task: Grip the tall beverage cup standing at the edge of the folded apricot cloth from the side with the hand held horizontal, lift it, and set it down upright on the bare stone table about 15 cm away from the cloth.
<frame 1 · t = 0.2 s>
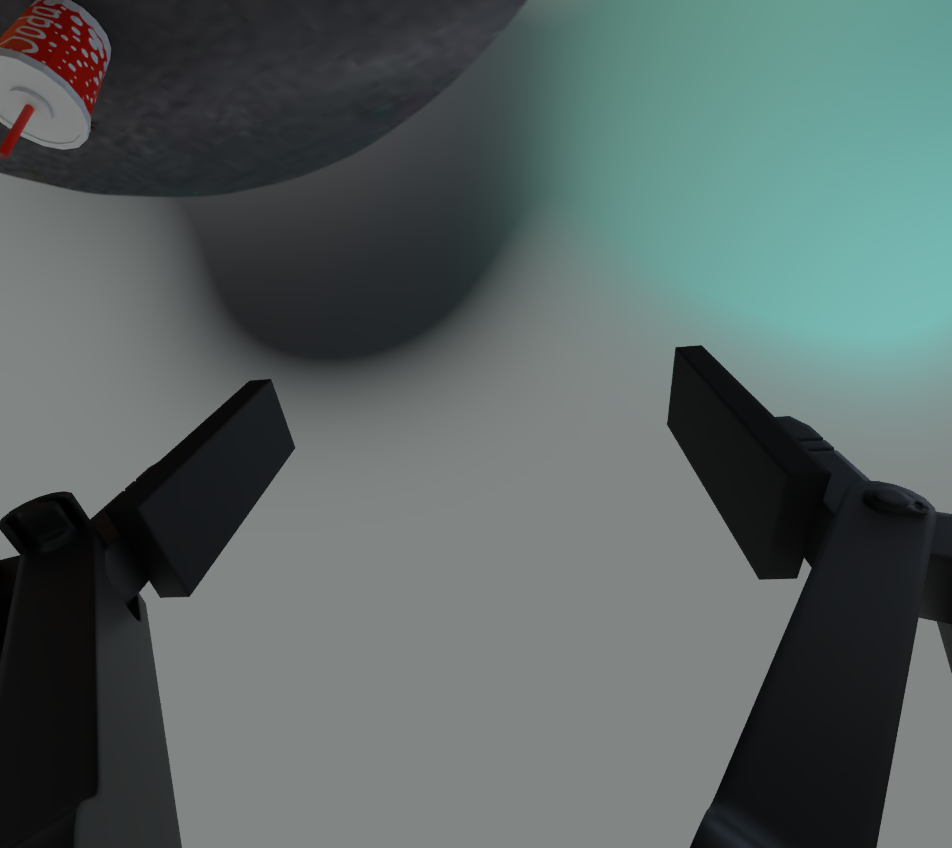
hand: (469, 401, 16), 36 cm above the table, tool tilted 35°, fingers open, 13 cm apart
beverage cup: (74, 31, 35), on the table
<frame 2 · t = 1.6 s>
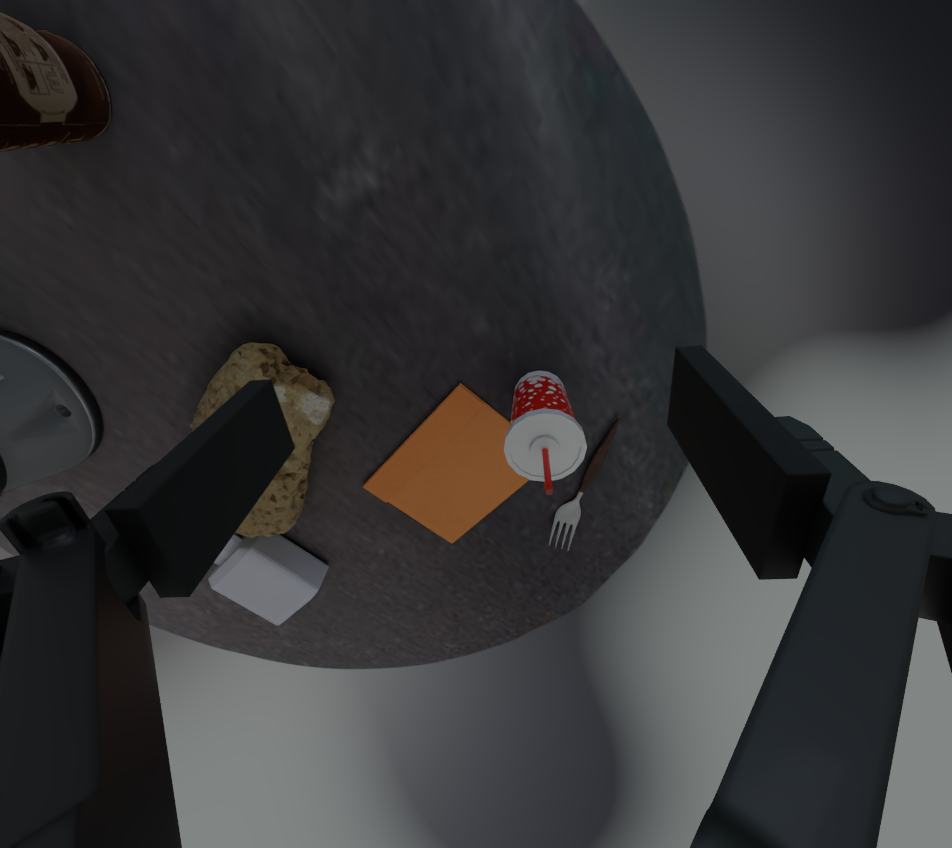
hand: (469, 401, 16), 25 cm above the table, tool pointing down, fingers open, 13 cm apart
sponge: (276, 433, 47), on the table
charger: (258, 546, 56), on the table
cloth: (455, 470, 48), on the table
coffee cup: (69, 87, 33), on the table
beverage cup: (539, 392, 43), on the table
fork: (584, 479, 47), on the table
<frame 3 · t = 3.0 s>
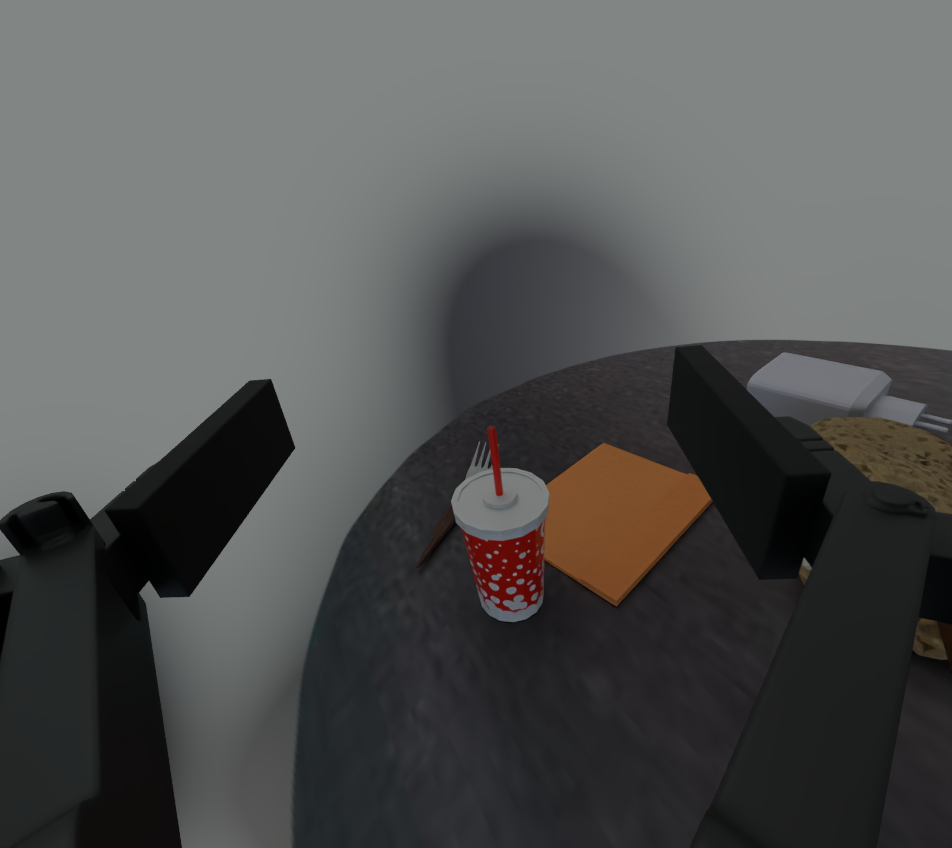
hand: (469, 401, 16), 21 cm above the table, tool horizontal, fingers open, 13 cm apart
sponge: (869, 540, 34), on the table
charger: (839, 425, 47), on the table
cloth: (608, 509, 40), on the table
beverage cup: (511, 596, 34), on the table
fork: (460, 508, 43), on the table
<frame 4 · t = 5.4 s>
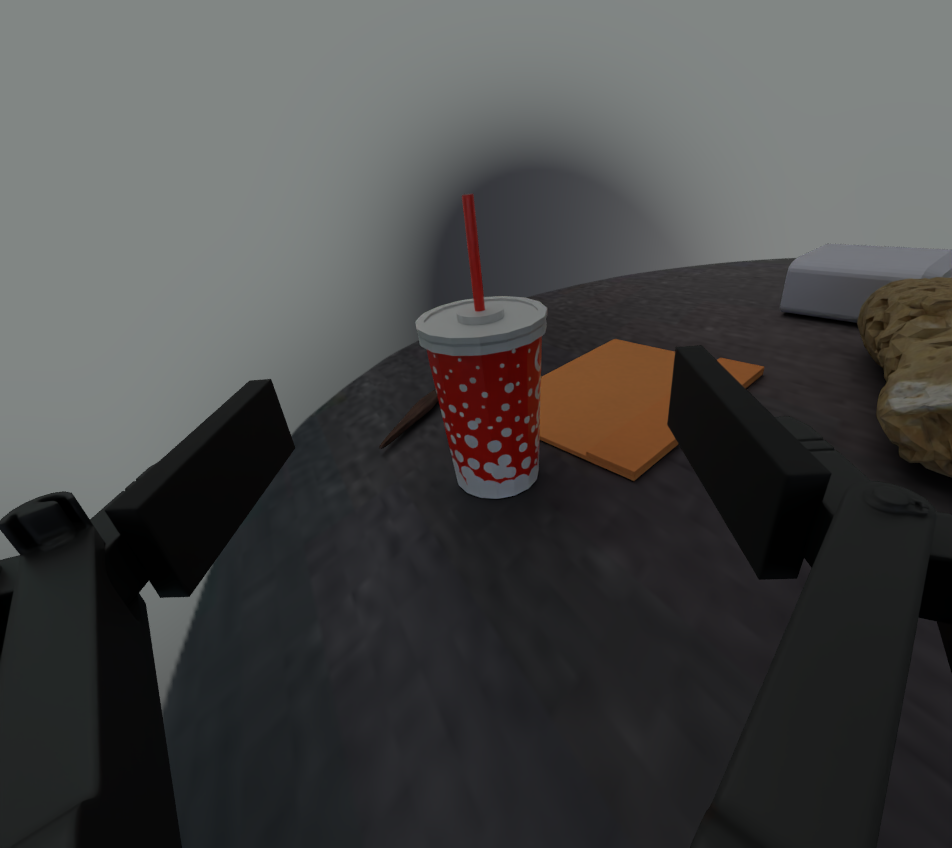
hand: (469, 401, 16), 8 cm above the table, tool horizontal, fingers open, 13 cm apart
charger: (898, 318, 39), on the table
cloth: (621, 393, 33), on the table
beverage cup: (497, 475, 26), on the table
fork: (440, 399, 35), on the table
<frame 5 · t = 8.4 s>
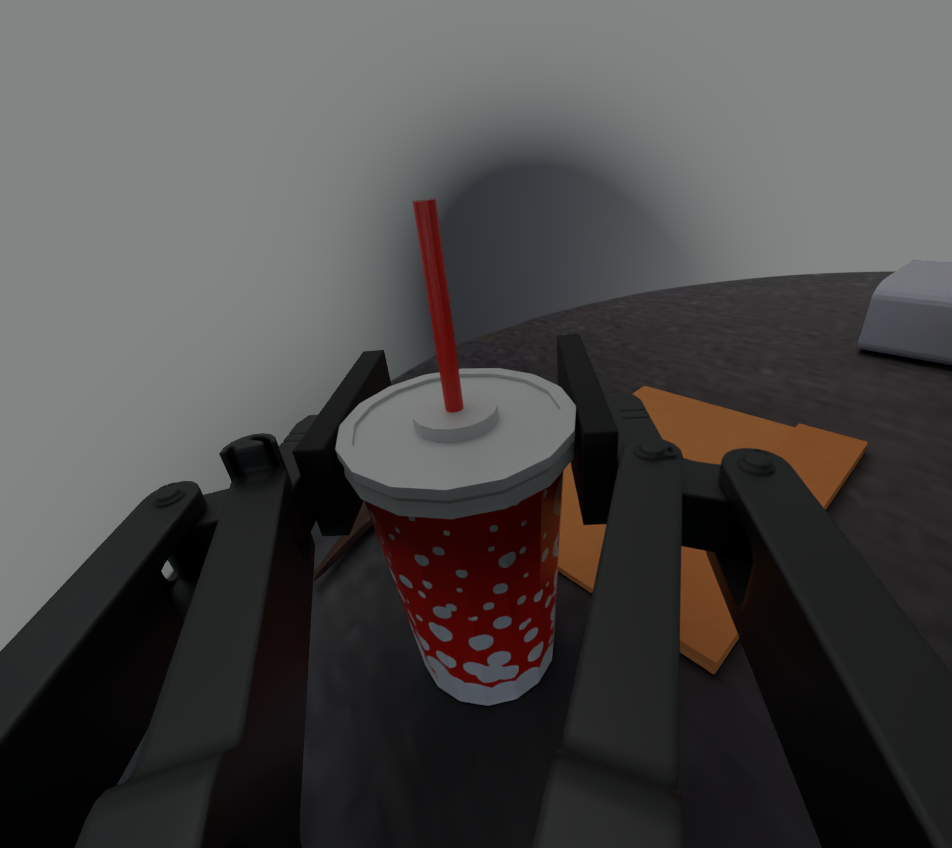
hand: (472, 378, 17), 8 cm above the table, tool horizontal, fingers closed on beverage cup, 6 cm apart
cloth: (666, 480, 23), on the table
beverage cup: (488, 642, 17), on the table, touching gripper
fork: (412, 479, 26), on the table
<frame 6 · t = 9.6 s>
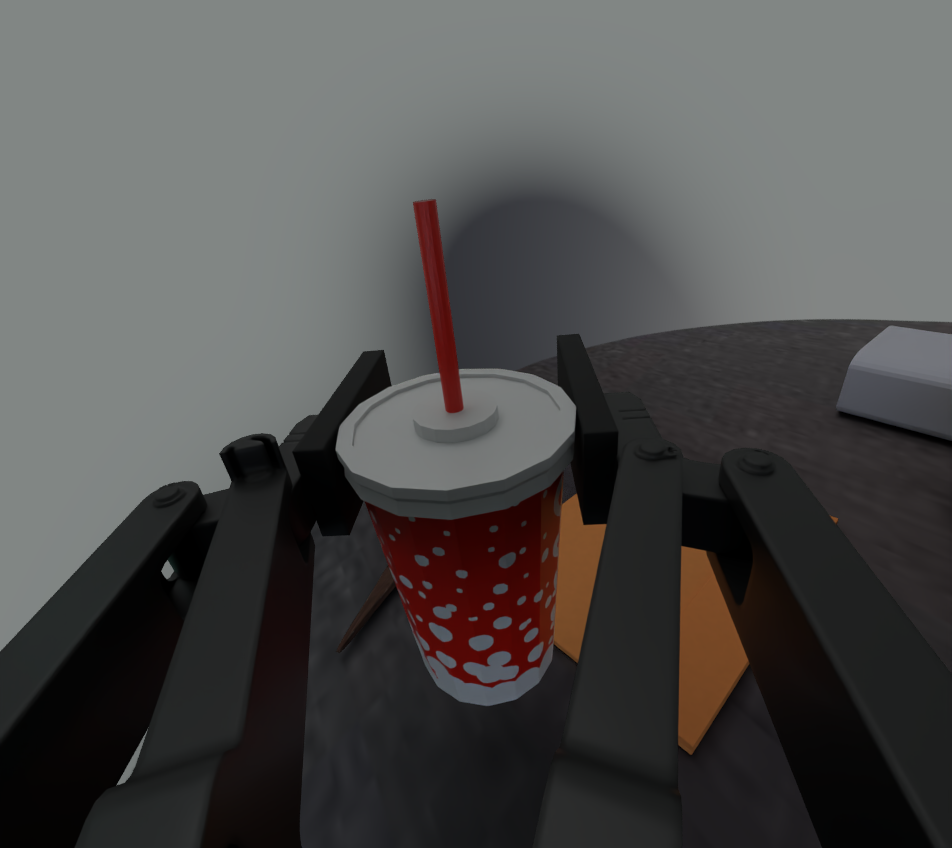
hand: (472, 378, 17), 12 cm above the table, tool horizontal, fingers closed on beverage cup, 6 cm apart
cloth: (655, 552, 25), on the table
beverage cup: (488, 642, 17), point 5 cm above the table, touching gripper
fork: (423, 543, 28), on the table
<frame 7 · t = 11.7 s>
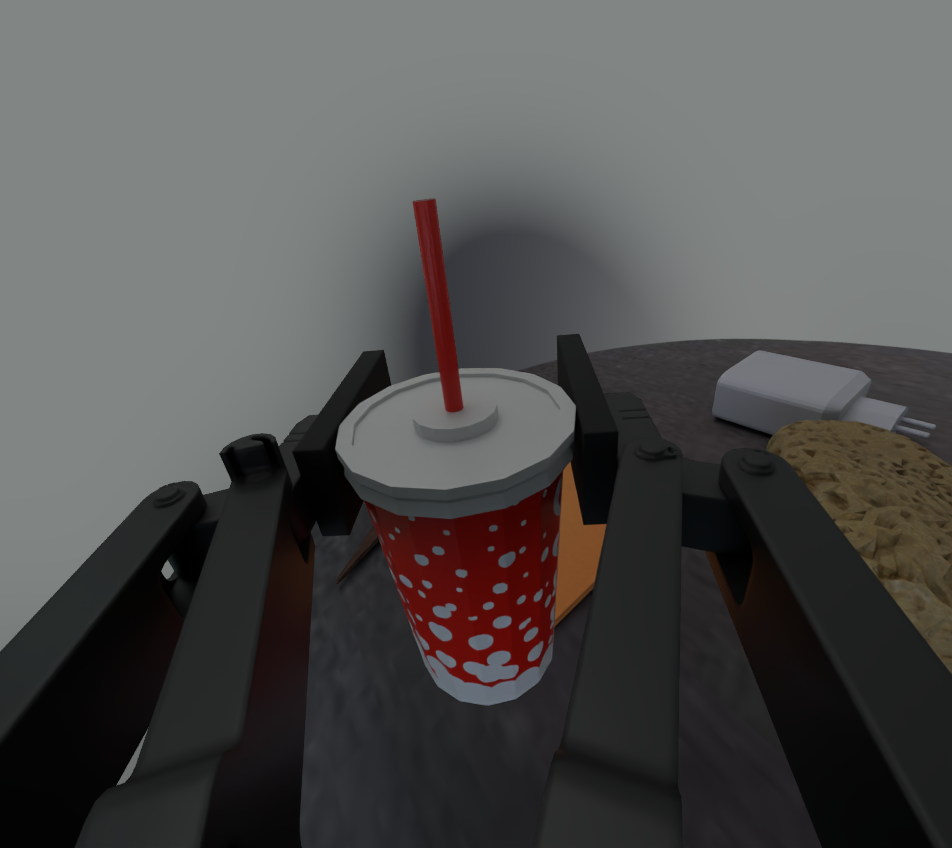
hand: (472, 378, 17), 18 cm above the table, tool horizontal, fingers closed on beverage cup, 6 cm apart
sponge: (839, 558, 31), on the table
charger: (815, 429, 43), on the table
cloth: (556, 518, 36), on the table
beverage cup: (488, 642, 17), point 10 cm above the table, touching gripper
fork: (397, 516, 39), on the table
when the fingers open (8 cm above the table, at t = 15.5 s): beverage cup stays where it is, on the table.
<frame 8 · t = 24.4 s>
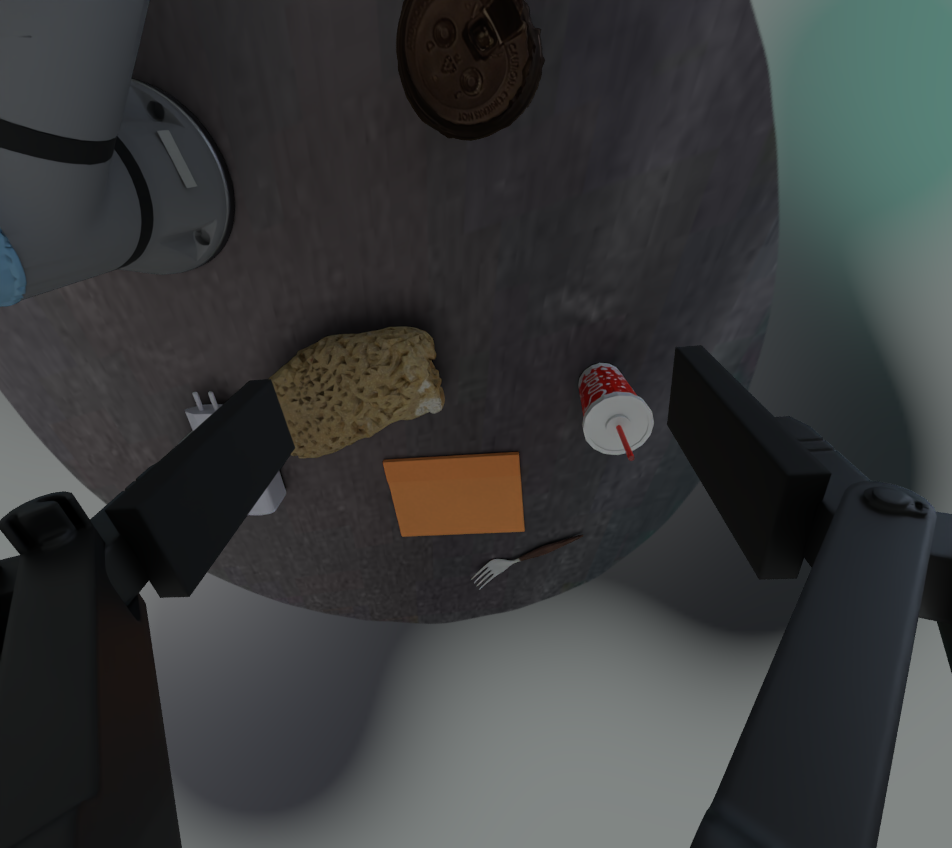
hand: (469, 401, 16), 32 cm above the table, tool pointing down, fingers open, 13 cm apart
sponge: (355, 382, 51), on the table
charger: (236, 439, 56), on the table
cloth: (456, 496, 58), on the table
coffee cup: (479, 82, 37), on the table
beverage cup: (600, 382, 49), on the table
fork: (527, 552, 62), on the table
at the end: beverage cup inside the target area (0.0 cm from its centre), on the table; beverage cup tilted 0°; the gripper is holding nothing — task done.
